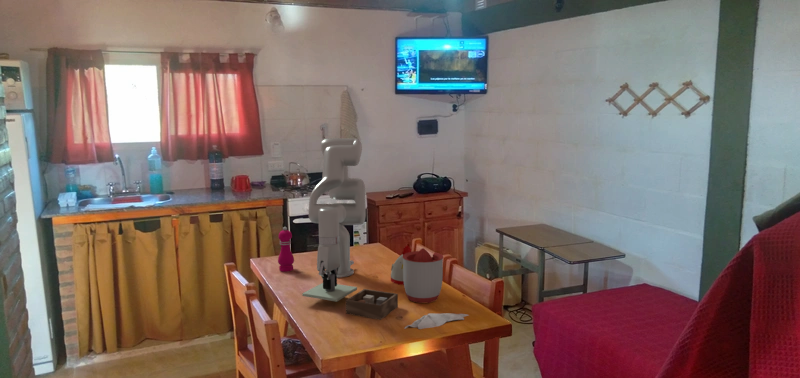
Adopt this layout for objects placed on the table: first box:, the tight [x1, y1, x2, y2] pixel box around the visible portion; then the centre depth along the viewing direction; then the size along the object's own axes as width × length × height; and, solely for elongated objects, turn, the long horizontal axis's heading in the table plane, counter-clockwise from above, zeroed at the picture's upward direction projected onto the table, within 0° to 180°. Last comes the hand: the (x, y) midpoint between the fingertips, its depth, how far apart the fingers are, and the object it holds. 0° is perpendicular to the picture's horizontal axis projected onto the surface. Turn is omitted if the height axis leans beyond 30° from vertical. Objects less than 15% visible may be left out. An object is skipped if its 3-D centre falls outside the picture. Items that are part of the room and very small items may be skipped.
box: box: [345, 288, 399, 321], centre depth 203 cm, size 14×14×5 cm
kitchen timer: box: [390, 245, 412, 286], centre depth 238 cm, size 14×14×15 cm
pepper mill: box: [277, 226, 295, 273], centre depth 252 cm, size 7×7×20 cm
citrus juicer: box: [403, 247, 444, 304], centre depth 215 cm, size 16×17×20 cm
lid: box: [301, 274, 358, 302], centre depth 212 cm, size 15×15×7 cm
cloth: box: [404, 312, 470, 330], centre depth 193 cm, size 26×14×2 cm, turn 106°
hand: (330, 287), depth 212 cm, fingers closed on lid, 3 cm apart
